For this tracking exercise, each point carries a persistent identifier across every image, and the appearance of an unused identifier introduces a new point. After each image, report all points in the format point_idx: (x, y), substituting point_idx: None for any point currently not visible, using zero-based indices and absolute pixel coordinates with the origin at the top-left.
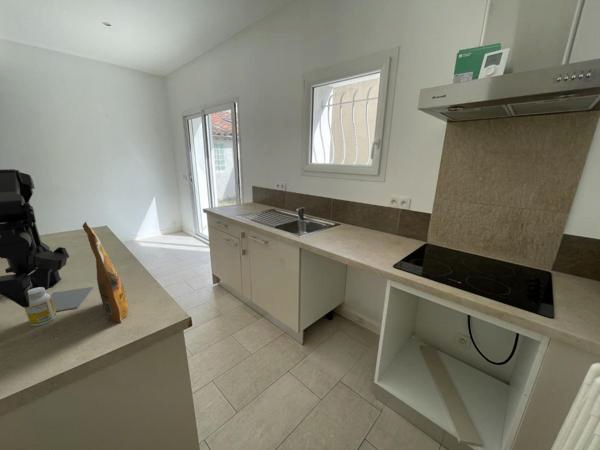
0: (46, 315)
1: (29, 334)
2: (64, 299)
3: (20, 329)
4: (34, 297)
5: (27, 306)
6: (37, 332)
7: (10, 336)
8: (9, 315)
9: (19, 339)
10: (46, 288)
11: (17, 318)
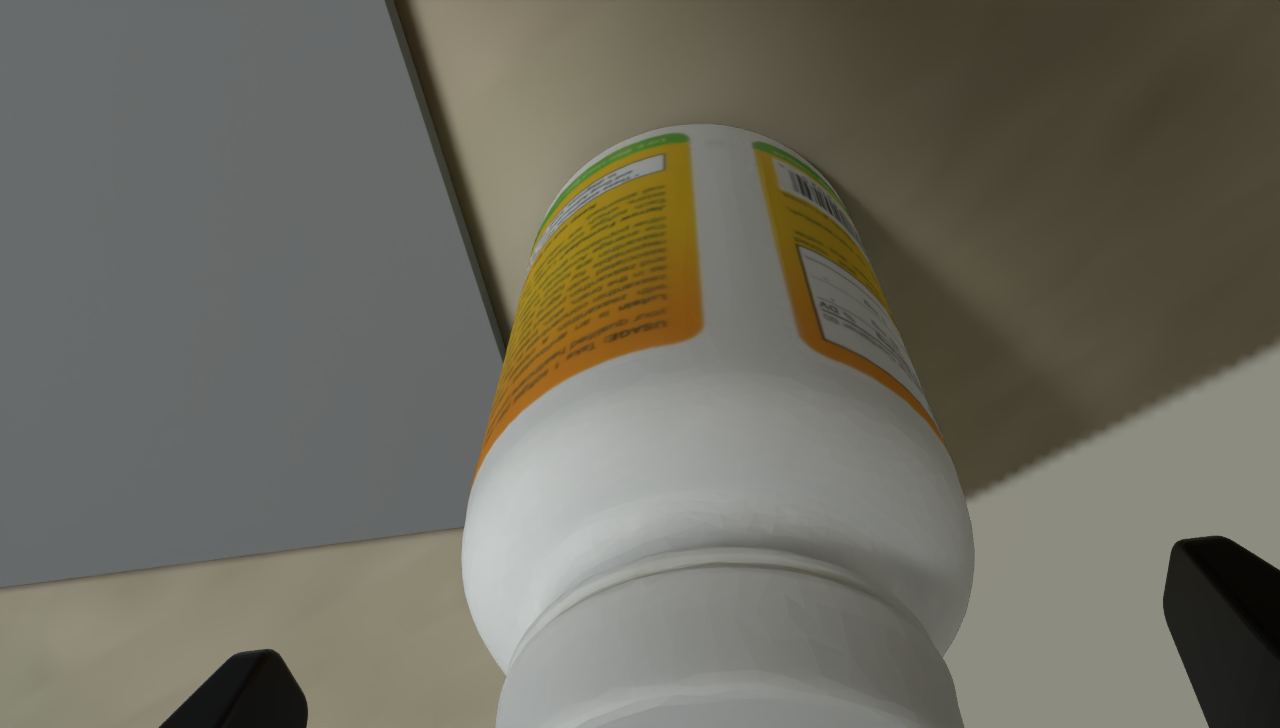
0: (826, 210)
1: (1074, 231)
2: (103, 331)
3: None
4: (935, 653)
5: (1235, 558)
6: (1065, 144)
7: (1015, 438)
8: None
9: (1160, 286)
10: (265, 684)
11: None
